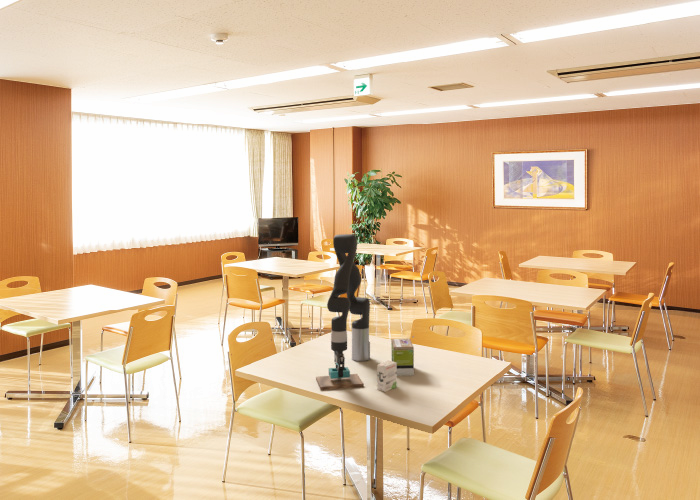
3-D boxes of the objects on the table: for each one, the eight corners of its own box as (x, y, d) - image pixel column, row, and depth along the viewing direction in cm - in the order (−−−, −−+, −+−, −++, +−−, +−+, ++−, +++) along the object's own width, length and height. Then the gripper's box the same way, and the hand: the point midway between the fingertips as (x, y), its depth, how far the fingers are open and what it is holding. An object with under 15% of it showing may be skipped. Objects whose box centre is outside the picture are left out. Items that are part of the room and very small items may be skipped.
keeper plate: (357, 376, 264) (357, 360, 263) (363, 386, 250) (363, 369, 249) (316, 379, 260) (315, 363, 259) (320, 390, 246) (320, 372, 245)
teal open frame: (347, 373, 258) (347, 367, 258) (349, 377, 252) (349, 371, 252) (328, 374, 257) (328, 368, 256) (330, 378, 251) (330, 372, 250)
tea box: (390, 366, 280) (391, 338, 278) (410, 366, 280) (410, 337, 278) (393, 376, 265) (393, 346, 263) (414, 375, 265) (414, 346, 263)
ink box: (388, 384, 253) (388, 359, 252) (397, 387, 250) (397, 362, 248) (376, 389, 247) (376, 364, 246) (385, 392, 243) (385, 366, 242)
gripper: (350, 343, 246) (350, 379, 248) (344, 335, 261) (344, 369, 262) (333, 344, 245) (334, 380, 247) (328, 336, 259) (328, 370, 261)
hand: (339, 374), depth 254 cm, fingers closed on teal open frame, 6 cm apart
